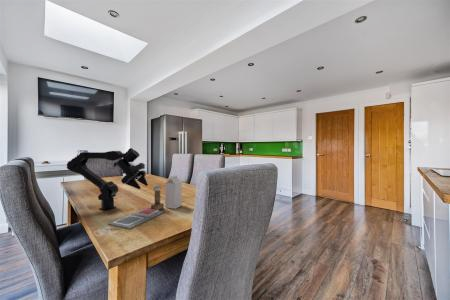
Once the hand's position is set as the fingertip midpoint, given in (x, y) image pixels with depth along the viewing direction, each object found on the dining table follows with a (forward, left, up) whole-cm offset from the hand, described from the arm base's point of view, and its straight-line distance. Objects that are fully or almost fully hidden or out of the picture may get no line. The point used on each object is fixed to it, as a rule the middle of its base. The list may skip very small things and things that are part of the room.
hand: (143, 187), depth 111 cm
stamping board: (+9, -13, -13) cm, 20 cm away
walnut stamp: (+8, +3, -13) cm, 15 cm away
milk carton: (+14, +10, -13) cm, 22 cm away
